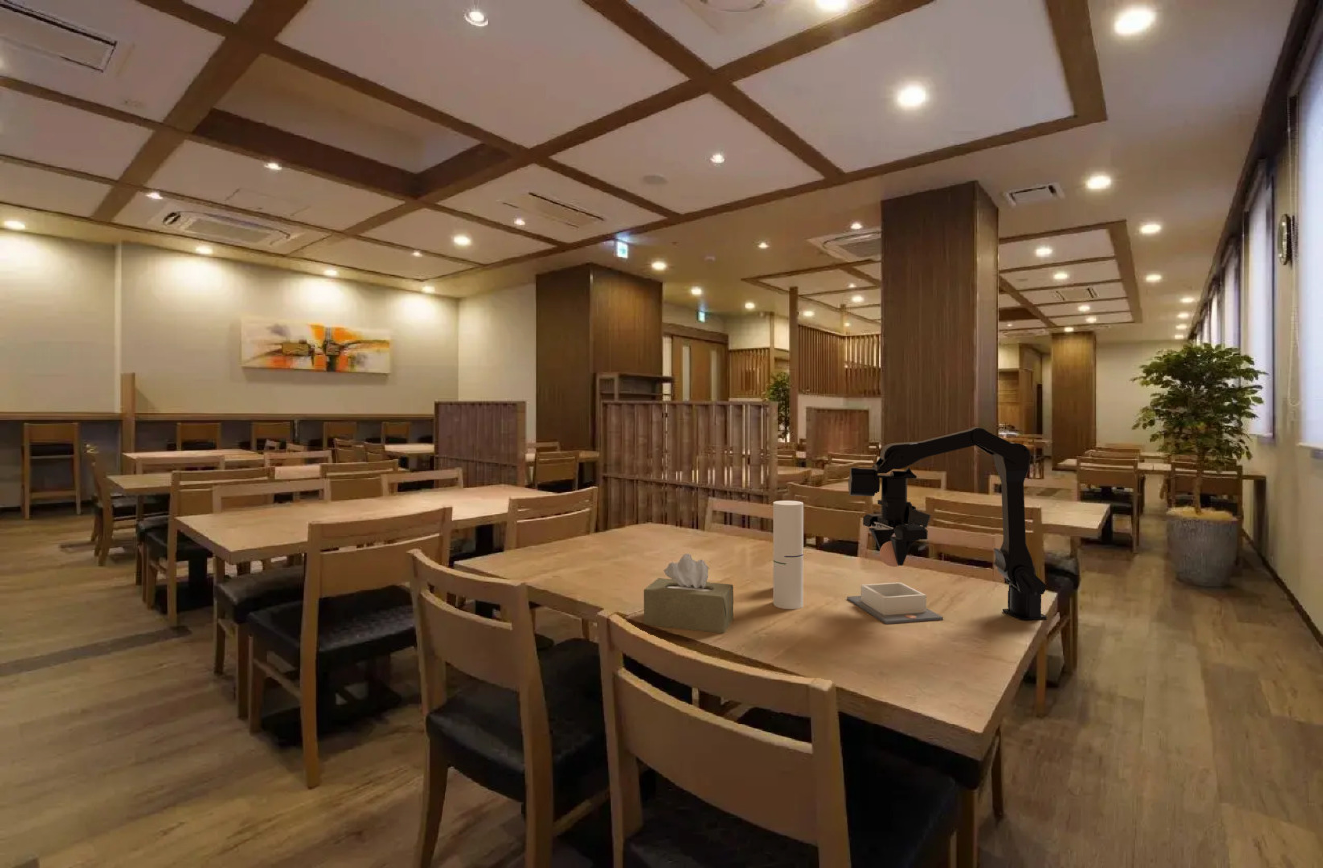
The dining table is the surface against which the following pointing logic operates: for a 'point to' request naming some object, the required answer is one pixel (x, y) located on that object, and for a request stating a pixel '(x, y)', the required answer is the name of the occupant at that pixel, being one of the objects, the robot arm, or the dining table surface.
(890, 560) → the terracotta ball
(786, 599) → the cylindrical container
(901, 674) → the dining table surface
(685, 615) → the tissue box
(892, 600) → the tray on grey plate
